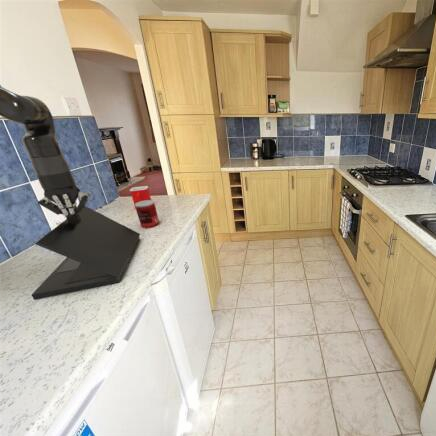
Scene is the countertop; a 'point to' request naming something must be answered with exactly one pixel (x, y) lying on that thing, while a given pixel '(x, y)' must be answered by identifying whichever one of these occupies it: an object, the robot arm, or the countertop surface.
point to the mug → (140, 194)
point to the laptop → (76, 278)
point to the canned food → (147, 213)
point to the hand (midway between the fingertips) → (76, 224)
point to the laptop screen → (93, 242)
